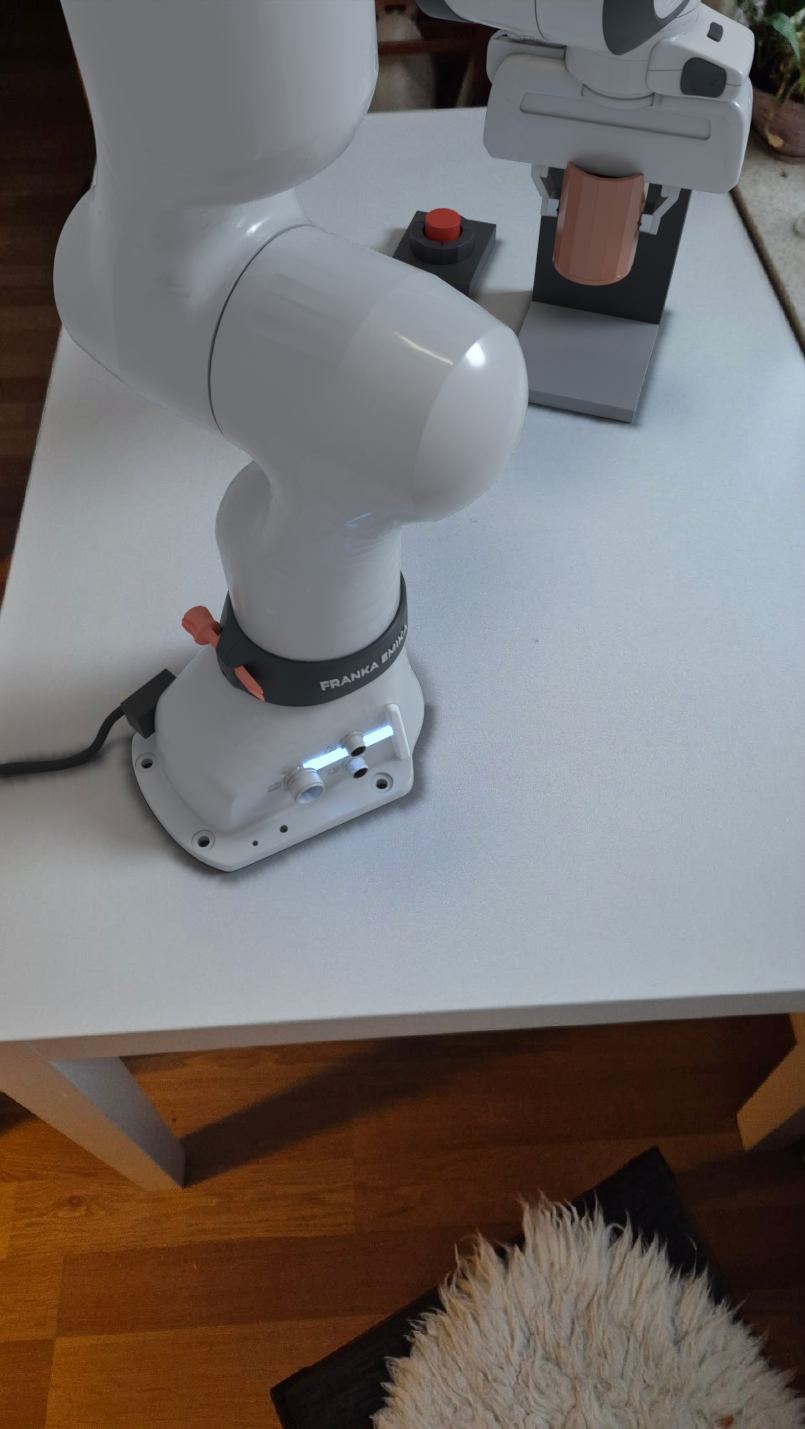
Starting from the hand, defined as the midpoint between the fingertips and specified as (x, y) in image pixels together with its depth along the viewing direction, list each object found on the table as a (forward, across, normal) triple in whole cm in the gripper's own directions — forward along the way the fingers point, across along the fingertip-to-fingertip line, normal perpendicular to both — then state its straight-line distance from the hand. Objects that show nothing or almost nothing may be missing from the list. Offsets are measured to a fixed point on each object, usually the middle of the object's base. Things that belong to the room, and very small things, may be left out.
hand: (599, 221), depth 84 cm
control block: (+16, -18, +14) cm, 28 cm away
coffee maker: (+16, 0, +4) cm, 17 cm away
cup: (+4, 0, 0) cm, 4 cm away
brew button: (+13, -18, +14) cm, 26 cm away
